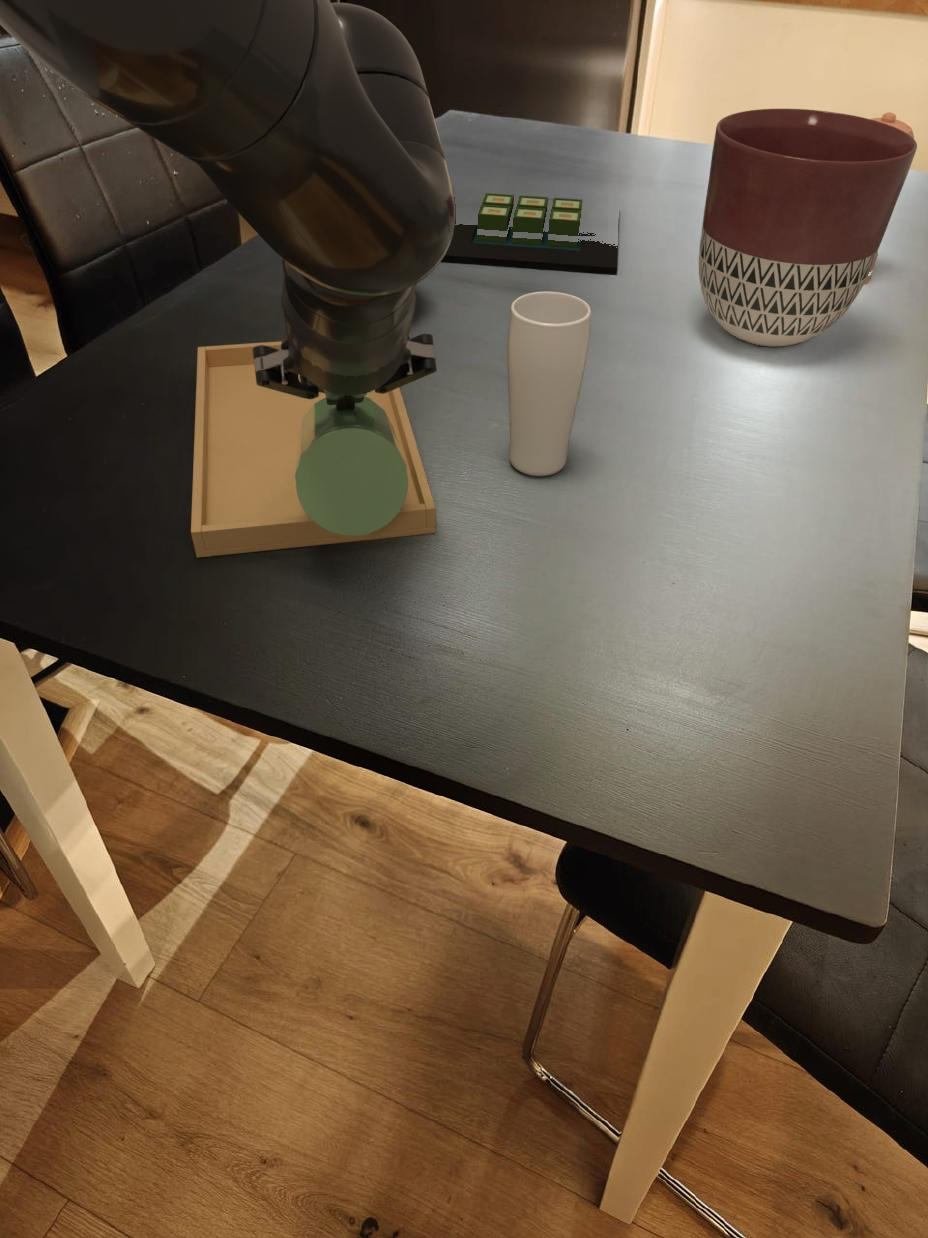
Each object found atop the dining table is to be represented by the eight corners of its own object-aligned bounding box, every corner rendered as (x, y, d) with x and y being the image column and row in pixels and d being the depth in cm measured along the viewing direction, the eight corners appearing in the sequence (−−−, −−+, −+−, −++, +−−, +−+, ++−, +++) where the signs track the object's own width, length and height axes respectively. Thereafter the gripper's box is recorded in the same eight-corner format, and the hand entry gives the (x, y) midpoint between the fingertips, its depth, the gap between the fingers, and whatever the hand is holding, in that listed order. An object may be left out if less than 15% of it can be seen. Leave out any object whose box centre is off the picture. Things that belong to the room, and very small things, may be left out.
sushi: (619, 210, 136) (622, 184, 133) (616, 274, 118) (620, 245, 115) (454, 199, 138) (455, 173, 136) (427, 260, 120) (427, 231, 117)
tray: (196, 558, 73) (190, 532, 71) (202, 369, 96) (197, 346, 95) (435, 533, 76) (435, 507, 74) (384, 356, 99) (383, 333, 98)
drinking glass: (586, 475, 83) (607, 318, 73) (519, 489, 81) (530, 330, 71) (554, 438, 87) (569, 285, 77) (489, 451, 85) (496, 296, 75)
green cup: (288, 433, 64) (292, 397, 76) (303, 541, 68) (305, 491, 79) (403, 422, 65) (389, 388, 77) (412, 530, 68) (398, 482, 80)
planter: (821, 392, 95) (890, 175, 81) (651, 344, 103) (687, 138, 88) (869, 326, 108) (936, 128, 93) (714, 288, 115) (754, 98, 101)
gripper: (241, 383, 52) (263, 452, 69) (466, 365, 54) (433, 437, 71) (226, 255, 52) (252, 356, 70) (450, 243, 54) (422, 343, 72)
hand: (344, 397), depth 70 cm, fingers closed
